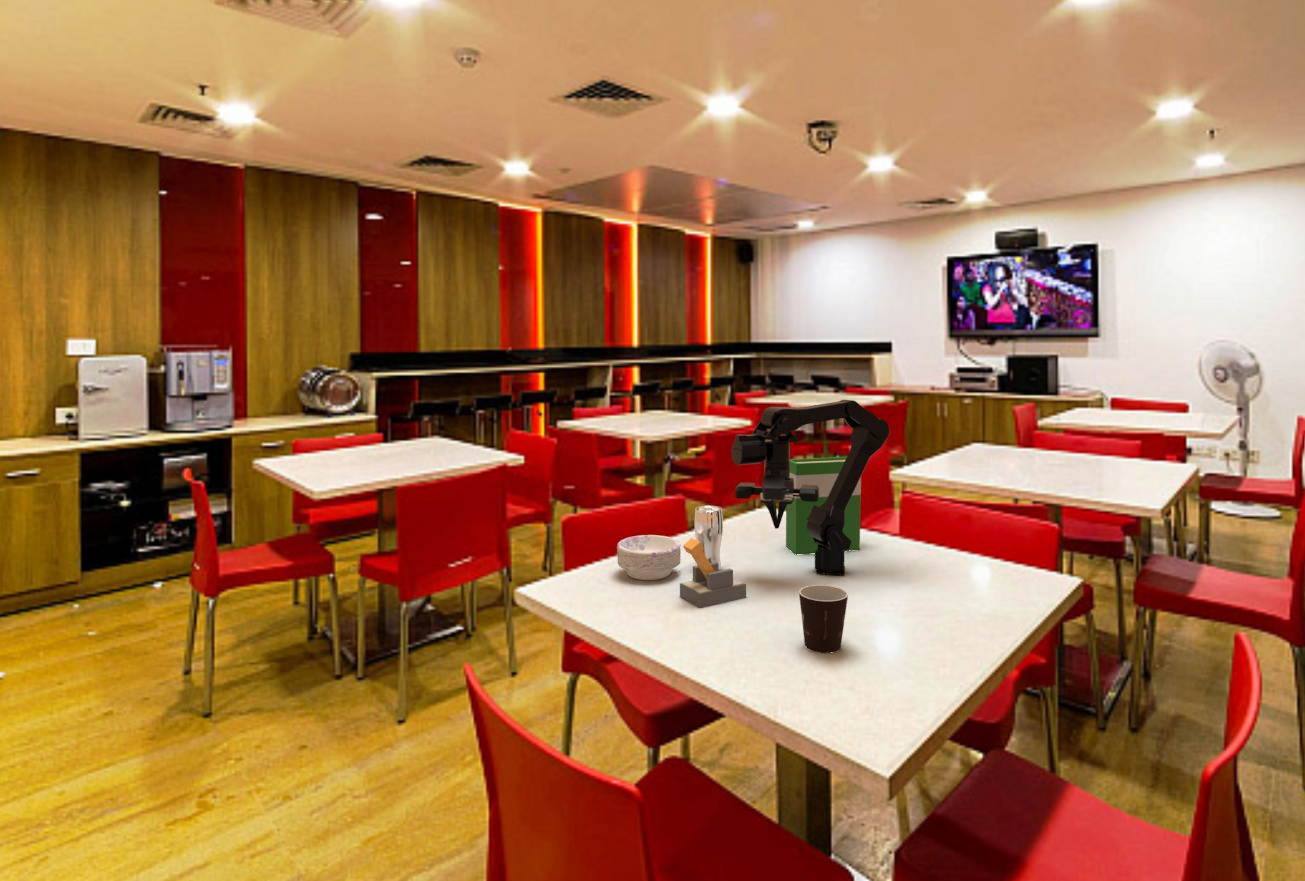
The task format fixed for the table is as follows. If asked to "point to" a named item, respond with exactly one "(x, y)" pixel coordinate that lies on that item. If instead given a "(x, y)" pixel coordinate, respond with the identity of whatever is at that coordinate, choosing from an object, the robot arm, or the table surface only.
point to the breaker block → (712, 587)
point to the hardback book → (818, 503)
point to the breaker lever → (698, 556)
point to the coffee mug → (823, 617)
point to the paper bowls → (648, 556)
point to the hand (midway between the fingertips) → (776, 528)
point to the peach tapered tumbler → (709, 531)
